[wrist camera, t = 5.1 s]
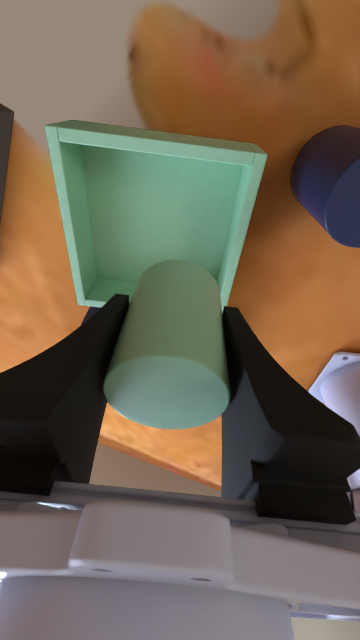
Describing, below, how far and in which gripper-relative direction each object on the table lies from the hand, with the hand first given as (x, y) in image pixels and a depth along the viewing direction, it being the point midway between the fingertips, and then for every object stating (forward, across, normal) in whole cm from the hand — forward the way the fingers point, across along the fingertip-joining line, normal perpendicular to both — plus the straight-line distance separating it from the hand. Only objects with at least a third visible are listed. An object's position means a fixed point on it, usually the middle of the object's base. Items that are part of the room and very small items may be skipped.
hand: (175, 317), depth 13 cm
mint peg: (+2, 0, 0) cm, 2 cm away
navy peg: (+9, -8, -5) cm, 13 cm away
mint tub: (+9, +2, -1) cm, 9 cm away
